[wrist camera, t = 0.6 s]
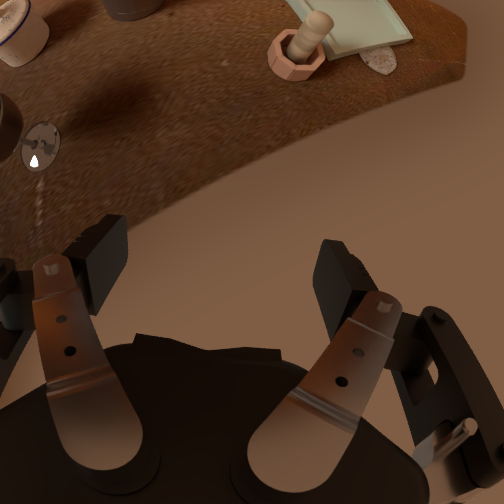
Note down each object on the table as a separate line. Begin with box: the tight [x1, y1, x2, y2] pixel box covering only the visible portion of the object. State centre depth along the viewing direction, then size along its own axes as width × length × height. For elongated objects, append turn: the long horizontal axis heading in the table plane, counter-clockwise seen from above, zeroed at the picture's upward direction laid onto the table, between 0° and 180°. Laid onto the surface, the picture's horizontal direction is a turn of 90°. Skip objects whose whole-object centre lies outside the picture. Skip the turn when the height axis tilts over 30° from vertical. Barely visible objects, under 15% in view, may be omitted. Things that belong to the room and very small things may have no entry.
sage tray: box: [286, 0, 413, 61], centre depth 34 cm, size 18×14×2 cm
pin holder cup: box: [268, 29, 325, 82], centre depth 33 cm, size 7×7×4 cm
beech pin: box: [283, 10, 334, 65], centre depth 29 cm, size 3×3×11 cm
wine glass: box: [0, 91, 60, 172], centre depth 24 cm, size 8×8×15 cm
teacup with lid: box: [0, 0, 49, 67], centre depth 21 cm, size 12×9×12 cm
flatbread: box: [358, 46, 397, 75], centre depth 36 cm, size 8×8×1 cm
